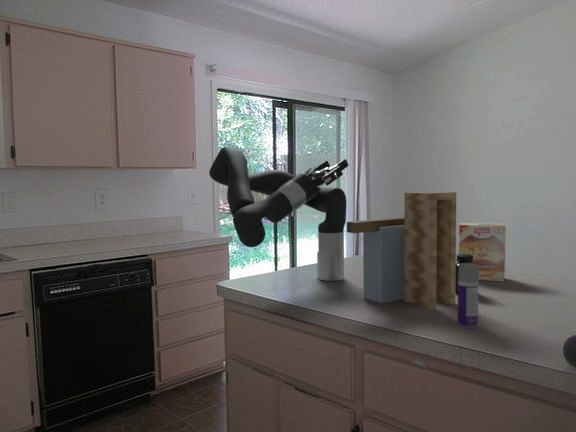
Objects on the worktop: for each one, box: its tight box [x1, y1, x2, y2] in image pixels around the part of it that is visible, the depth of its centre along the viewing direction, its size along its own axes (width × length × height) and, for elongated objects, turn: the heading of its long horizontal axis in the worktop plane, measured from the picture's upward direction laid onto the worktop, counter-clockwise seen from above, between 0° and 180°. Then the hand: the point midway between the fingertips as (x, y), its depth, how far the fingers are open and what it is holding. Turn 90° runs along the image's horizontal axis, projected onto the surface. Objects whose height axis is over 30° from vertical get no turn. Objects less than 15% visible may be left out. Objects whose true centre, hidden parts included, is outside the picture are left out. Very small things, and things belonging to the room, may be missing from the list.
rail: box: [346, 216, 405, 234], centre depth 135 cm, size 4×24×3 cm, turn 122°
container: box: [457, 263, 480, 329], centre depth 111 cm, size 5×5×15 cm
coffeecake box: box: [458, 222, 507, 282], centre depth 161 cm, size 15×7×20 cm, turn 68°
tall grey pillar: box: [362, 225, 405, 305], centre depth 137 cm, size 8×10×22 cm
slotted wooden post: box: [403, 191, 457, 310], centre depth 131 cm, size 10×10×32 cm
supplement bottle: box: [455, 253, 473, 295], centre depth 141 cm, size 7×7×12 cm
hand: (337, 162), depth 129 cm, fingers open, 8 cm apart
